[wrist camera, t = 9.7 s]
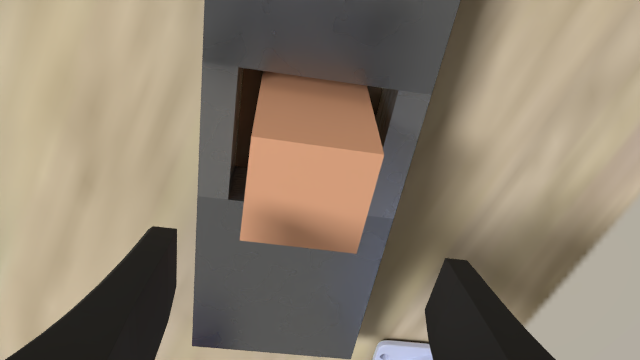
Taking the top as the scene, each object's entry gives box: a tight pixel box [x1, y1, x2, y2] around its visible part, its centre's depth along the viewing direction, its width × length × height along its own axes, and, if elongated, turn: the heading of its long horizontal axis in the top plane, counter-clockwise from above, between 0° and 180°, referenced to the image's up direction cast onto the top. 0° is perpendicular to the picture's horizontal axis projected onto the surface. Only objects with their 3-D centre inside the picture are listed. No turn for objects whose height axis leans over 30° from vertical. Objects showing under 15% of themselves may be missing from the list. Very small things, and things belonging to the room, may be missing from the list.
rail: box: [192, 0, 460, 359], centre depth 20 cm, size 24×8×2 cm, turn 171°
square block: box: [240, 71, 384, 254], centre depth 19 cm, size 4×4×6 cm
